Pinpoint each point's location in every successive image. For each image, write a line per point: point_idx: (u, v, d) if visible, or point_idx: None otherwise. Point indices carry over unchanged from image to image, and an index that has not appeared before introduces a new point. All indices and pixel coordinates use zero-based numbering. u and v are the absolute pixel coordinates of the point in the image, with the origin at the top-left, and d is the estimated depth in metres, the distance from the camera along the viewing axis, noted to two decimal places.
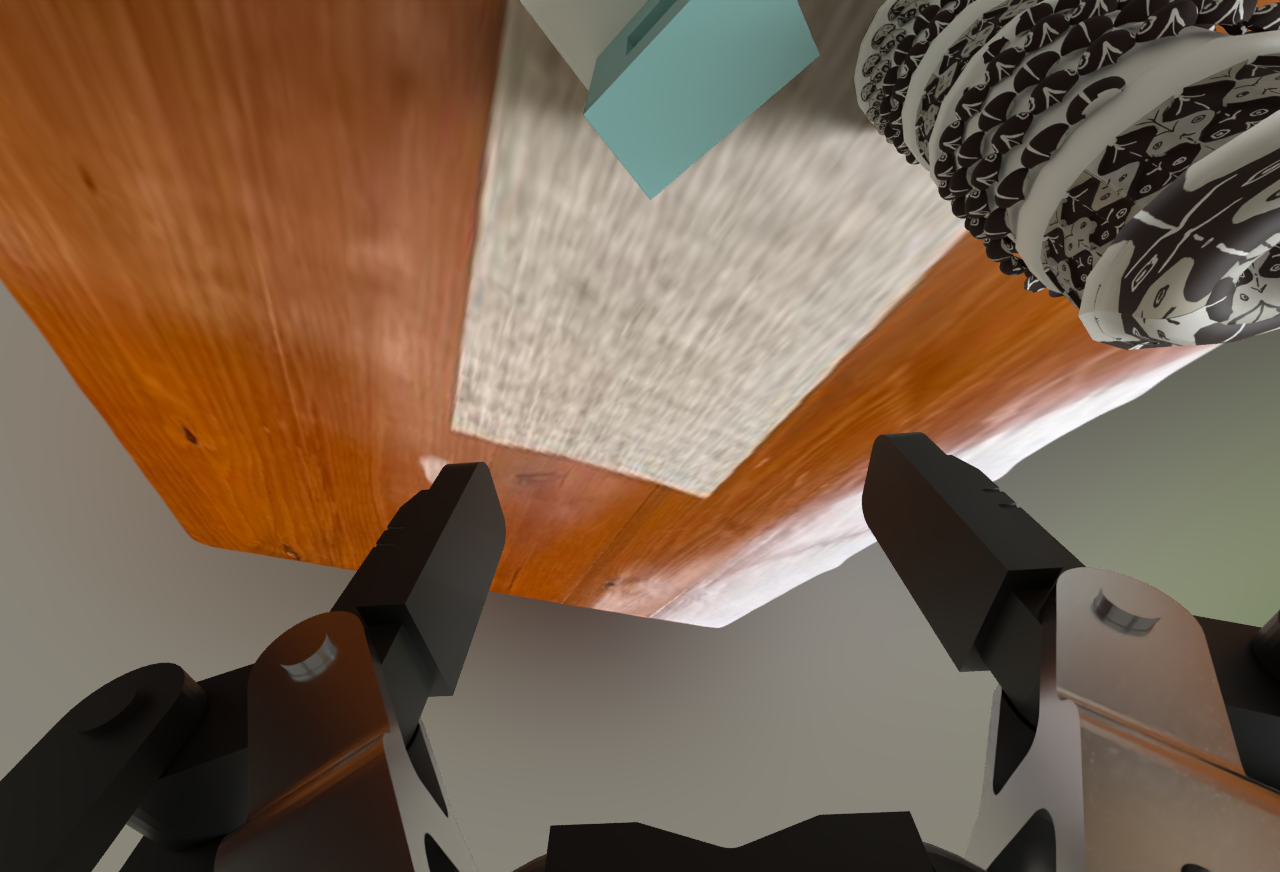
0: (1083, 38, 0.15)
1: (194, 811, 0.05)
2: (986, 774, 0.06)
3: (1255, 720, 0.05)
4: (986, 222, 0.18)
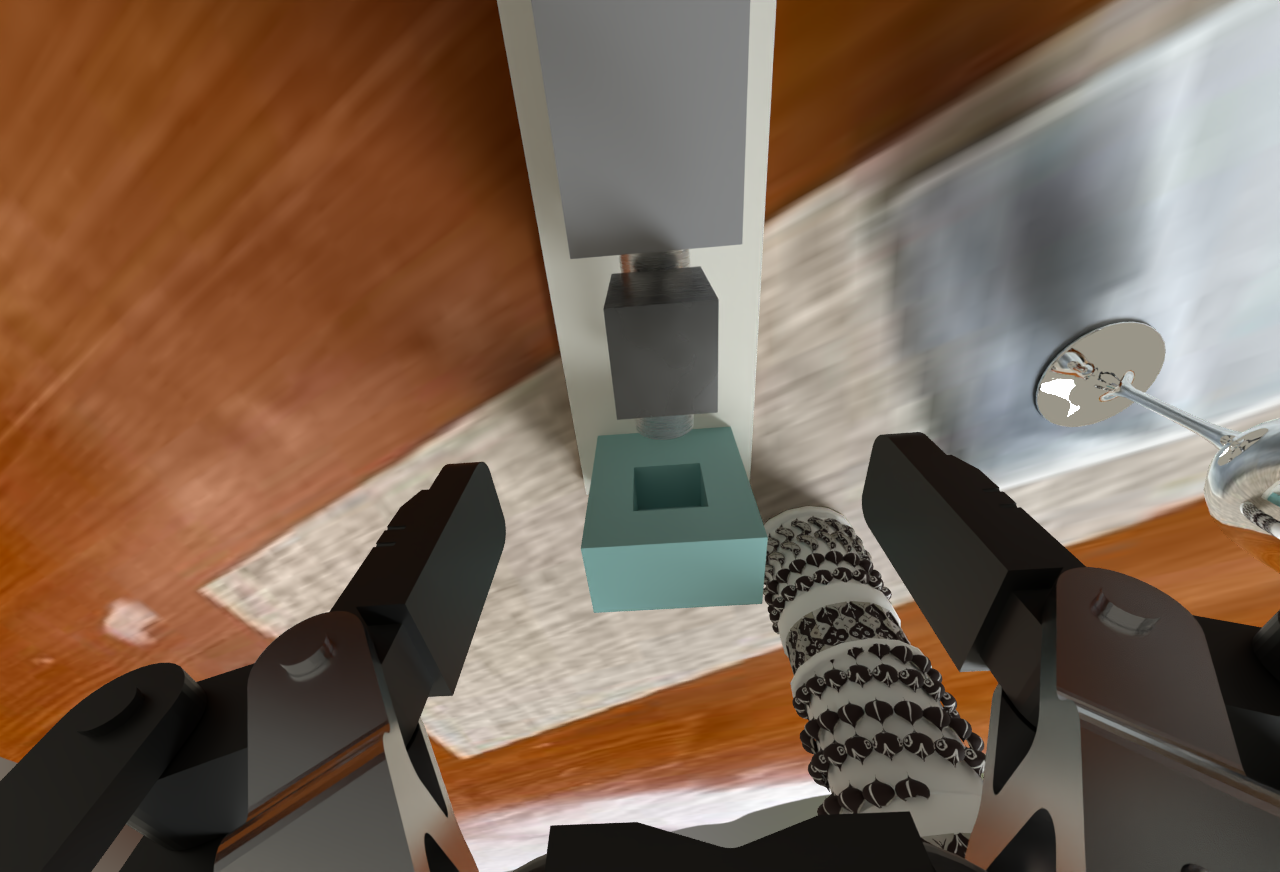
0: (908, 715, 0.23)
1: (194, 811, 0.05)
2: (986, 774, 0.06)
3: (1255, 720, 0.05)
4: (827, 803, 0.22)
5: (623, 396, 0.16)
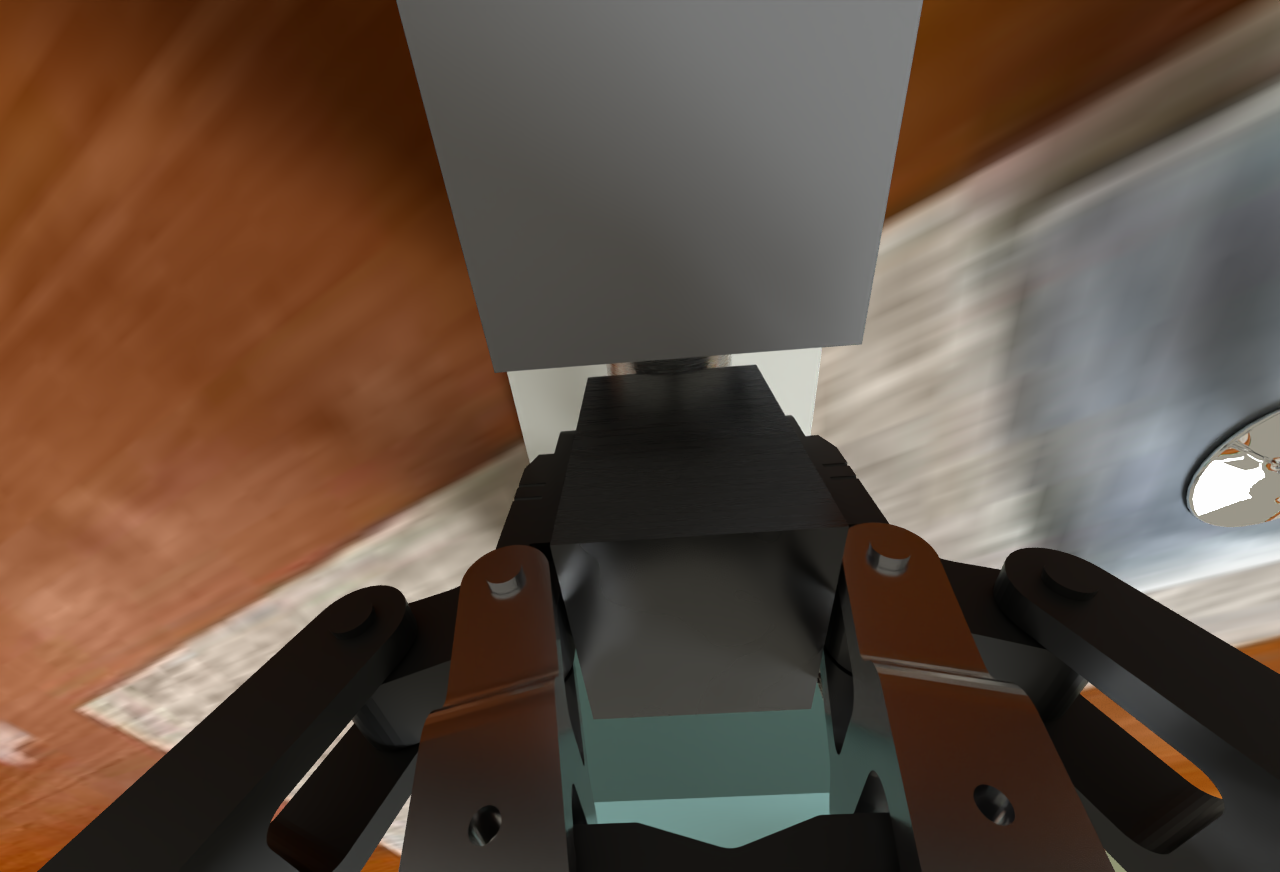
0: None
1: (391, 726, 0.06)
2: (828, 733, 0.06)
3: (977, 642, 0.06)
4: None
5: (606, 687, 0.07)
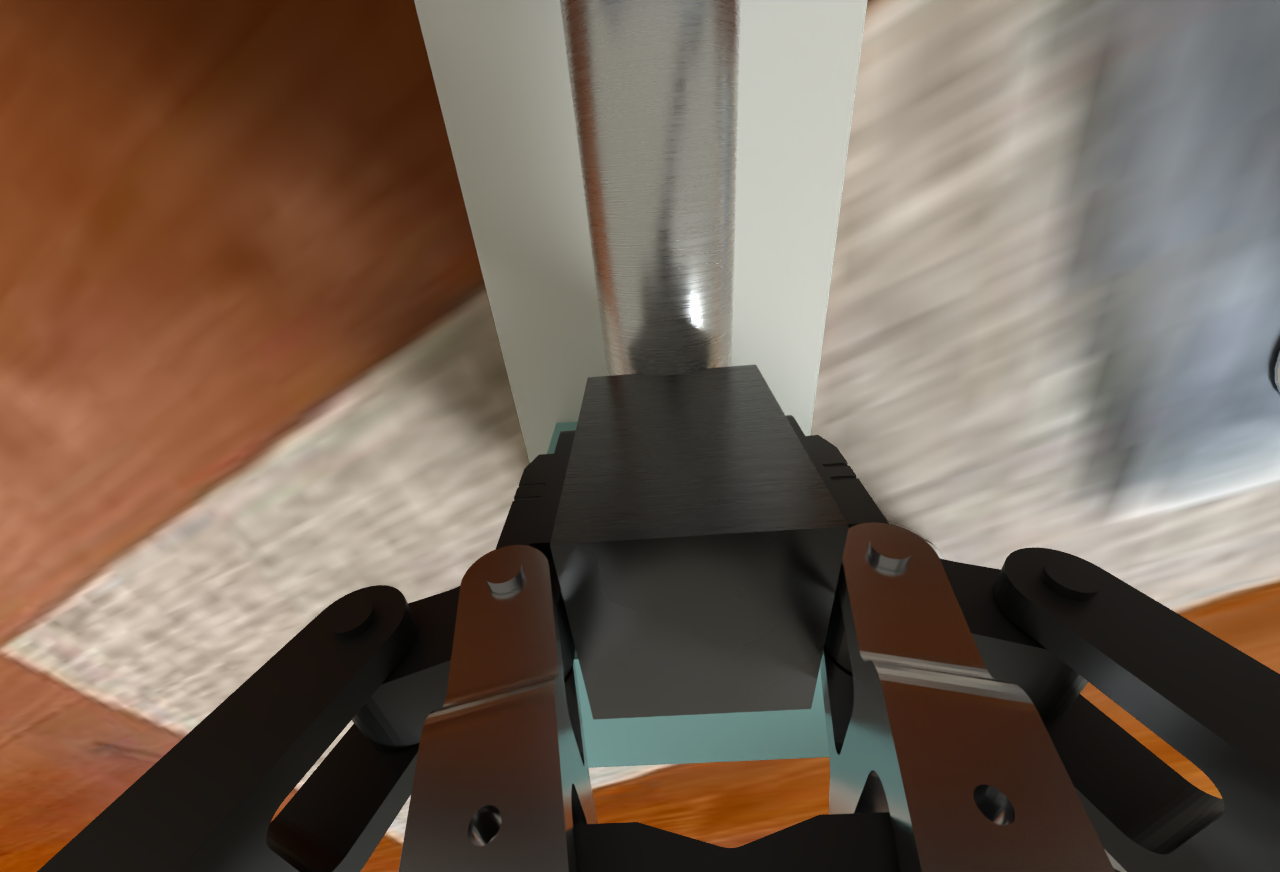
0: None
1: (391, 726, 0.06)
2: (828, 733, 0.06)
3: (977, 642, 0.06)
4: None
5: (606, 688, 0.07)
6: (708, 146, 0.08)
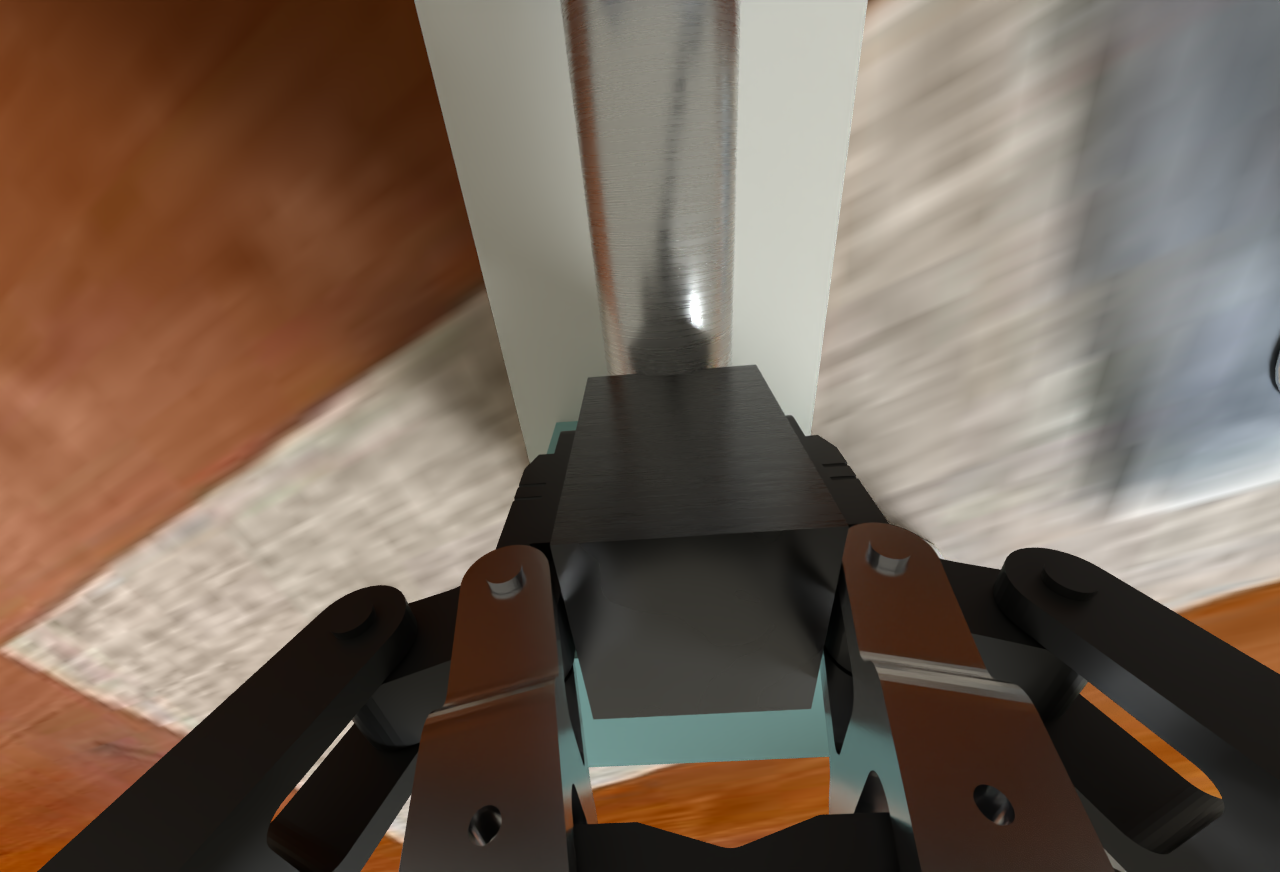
0: None
1: (391, 726, 0.06)
2: (828, 733, 0.06)
3: (977, 642, 0.06)
4: None
5: (606, 688, 0.07)
6: (708, 146, 0.08)
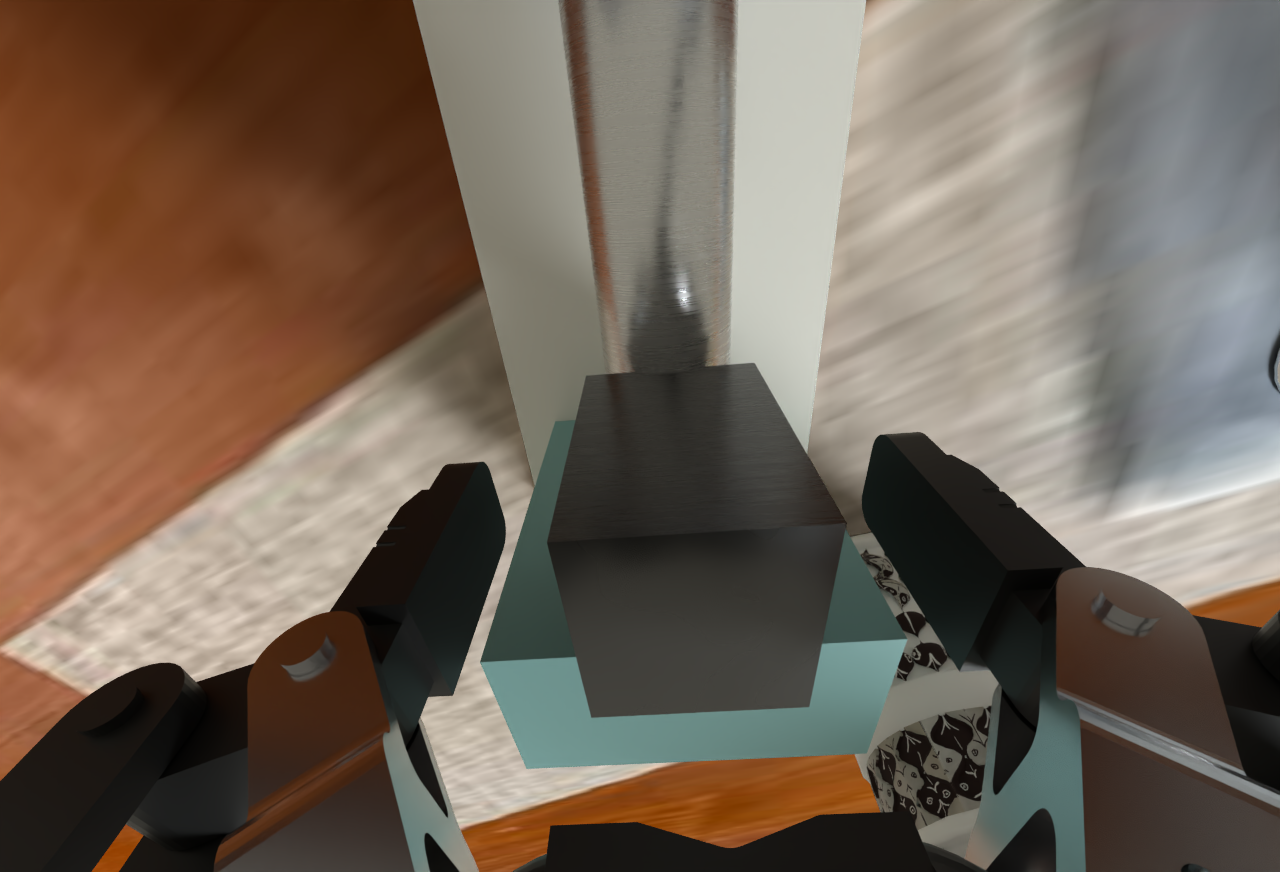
0: None
1: (194, 811, 0.05)
2: (986, 774, 0.06)
3: (1255, 720, 0.05)
4: None
5: (604, 686, 0.07)
6: (706, 143, 0.08)
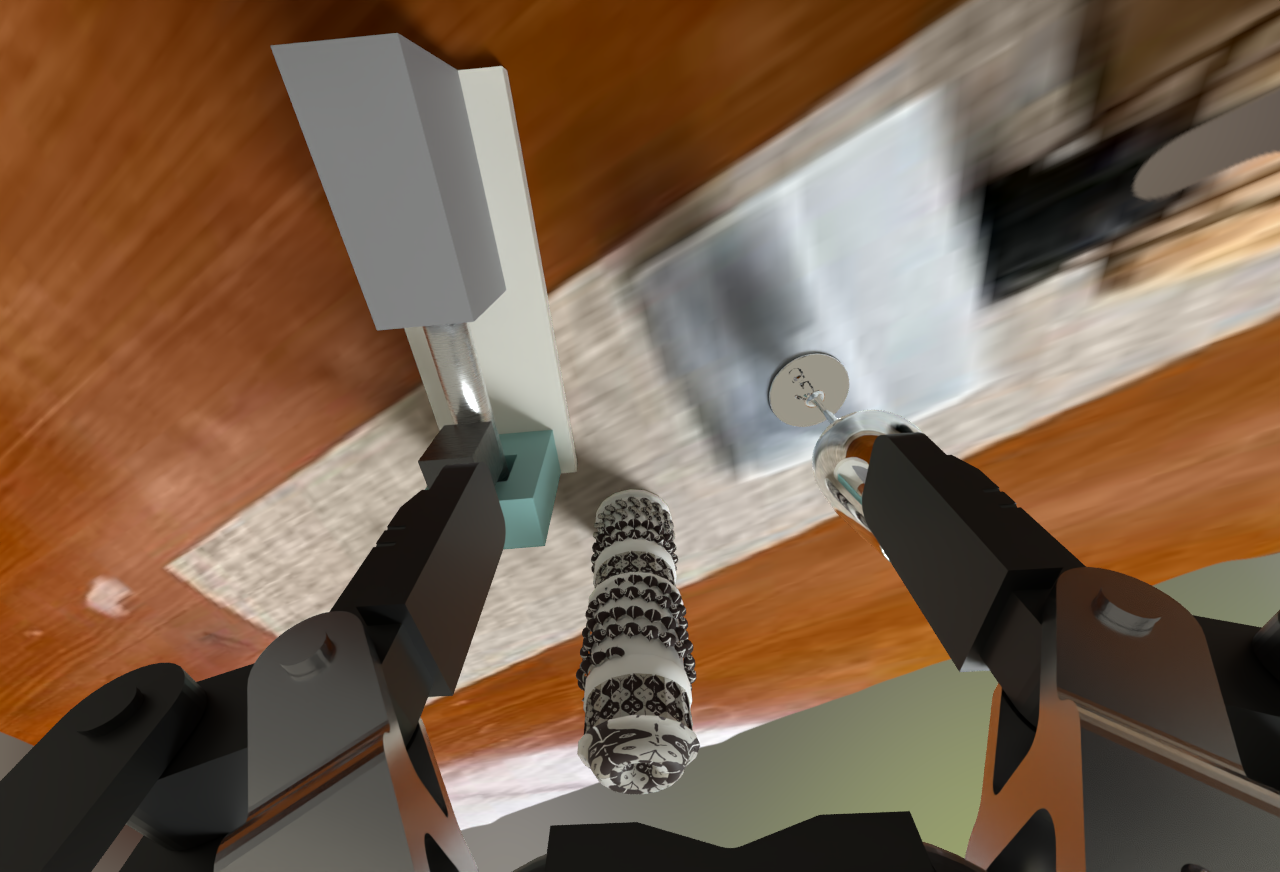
0: (631, 614, 0.35)
1: (194, 811, 0.05)
2: (986, 774, 0.06)
3: (1255, 720, 0.05)
4: None
5: None
6: (464, 372, 0.33)
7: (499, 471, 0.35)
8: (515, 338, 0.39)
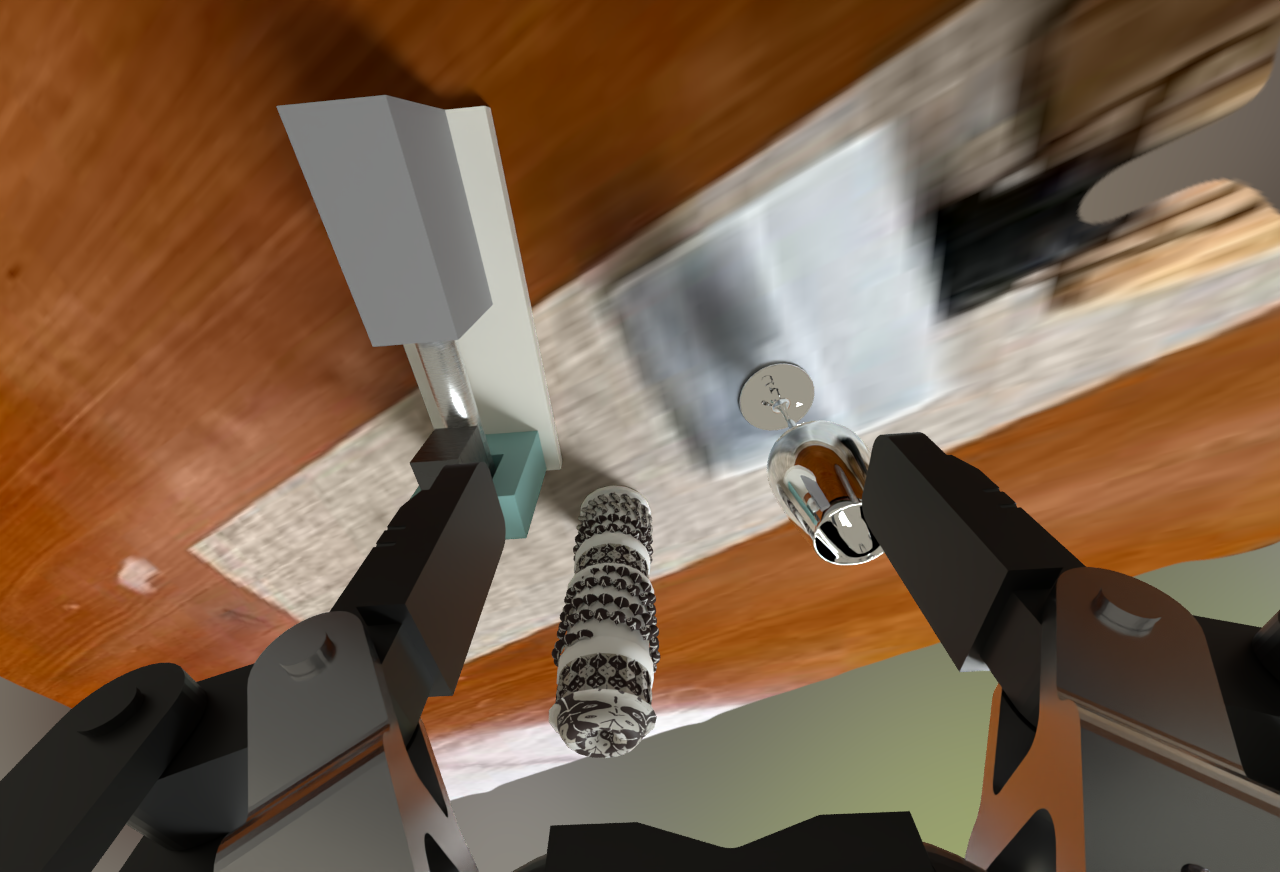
0: (602, 600, 0.39)
1: (194, 811, 0.05)
2: (986, 774, 0.06)
3: (1255, 720, 0.05)
4: (552, 651, 0.38)
5: None
6: (452, 382, 0.36)
7: None
8: (502, 348, 0.42)
